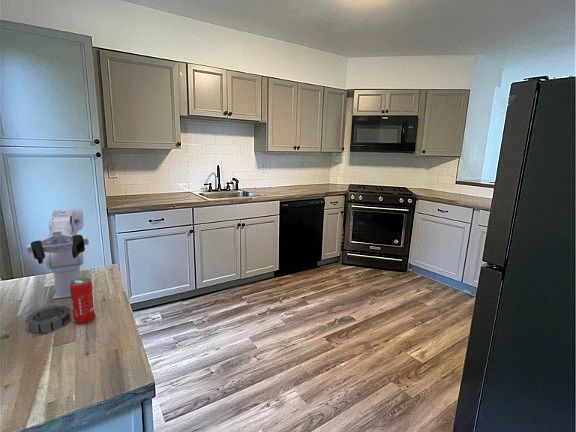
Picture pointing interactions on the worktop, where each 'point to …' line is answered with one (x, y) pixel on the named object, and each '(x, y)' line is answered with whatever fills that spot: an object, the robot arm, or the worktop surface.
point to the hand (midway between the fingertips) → (57, 257)
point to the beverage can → (82, 300)
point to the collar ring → (47, 326)
